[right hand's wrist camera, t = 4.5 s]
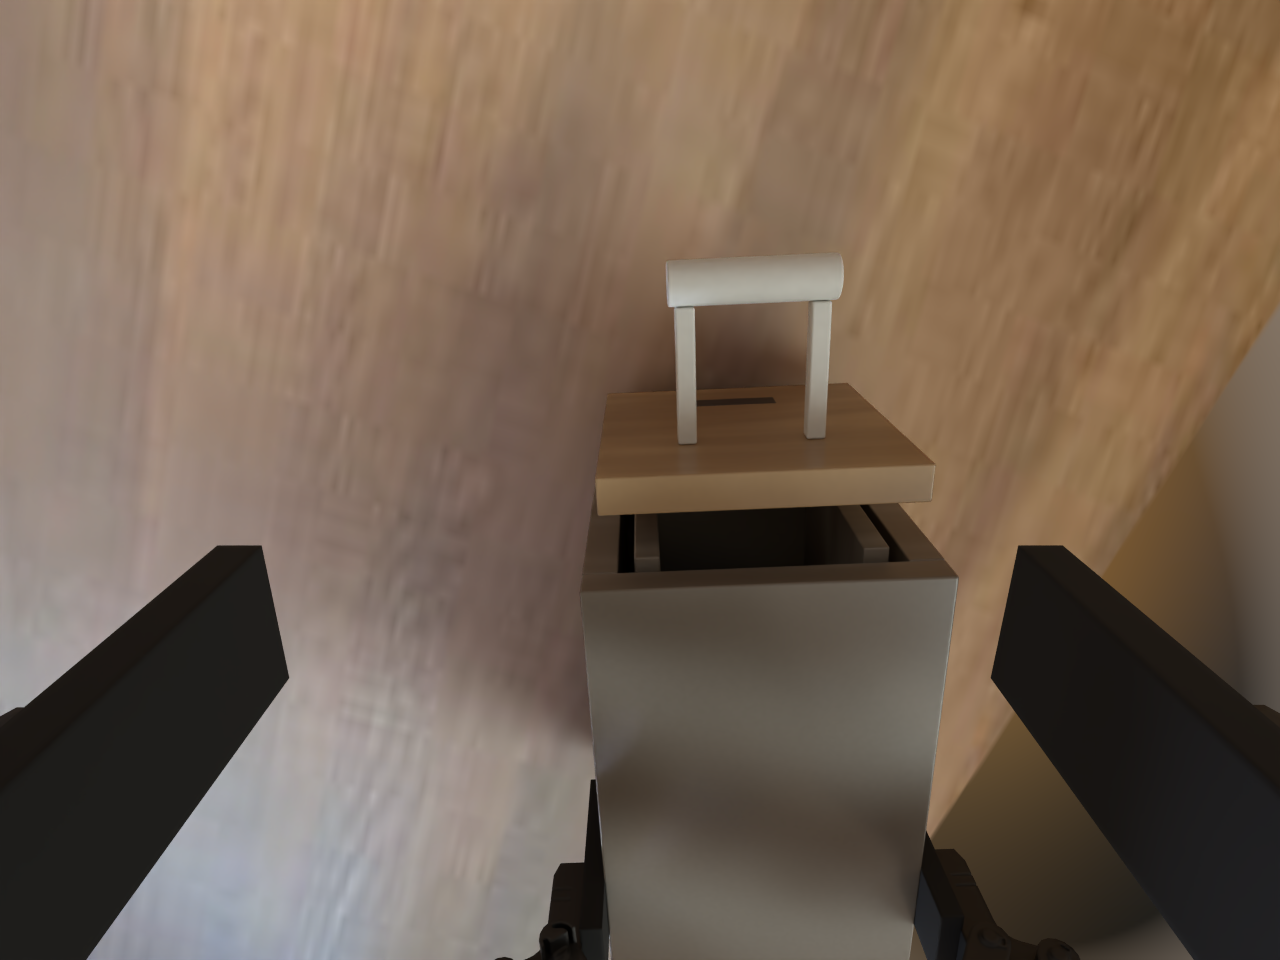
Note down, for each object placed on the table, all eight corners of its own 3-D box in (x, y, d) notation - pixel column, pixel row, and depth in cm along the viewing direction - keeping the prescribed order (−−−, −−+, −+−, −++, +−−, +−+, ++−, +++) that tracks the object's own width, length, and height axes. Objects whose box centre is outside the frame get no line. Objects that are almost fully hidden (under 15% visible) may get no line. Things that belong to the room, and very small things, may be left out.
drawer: (598, 247, 28) (580, 274, 19) (856, 235, 28) (959, 256, 19) (626, 699, 36) (622, 867, 27) (829, 691, 35) (892, 857, 27)
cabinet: (598, 456, 32) (579, 591, 21) (851, 445, 32) (960, 576, 21) (619, 757, 38) (612, 980, 27) (831, 749, 38) (908, 970, 27)
